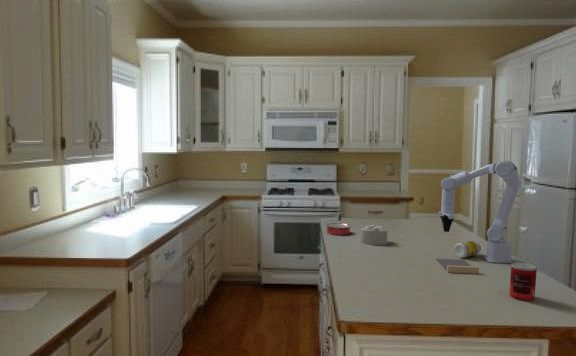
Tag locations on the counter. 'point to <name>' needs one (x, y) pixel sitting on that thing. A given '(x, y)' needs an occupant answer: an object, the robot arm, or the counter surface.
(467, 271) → the mat
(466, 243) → the supplement bottle
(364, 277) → the counter surface
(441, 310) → the counter surface
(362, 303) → the counter surface
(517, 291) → the canned food
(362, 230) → the lumpy-topped squat cylinder
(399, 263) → the counter surface
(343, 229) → the frying pan
